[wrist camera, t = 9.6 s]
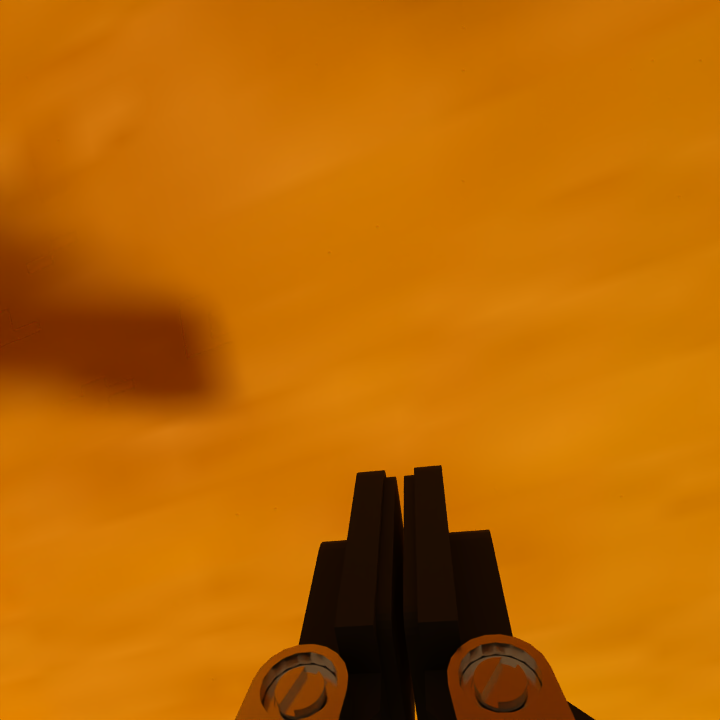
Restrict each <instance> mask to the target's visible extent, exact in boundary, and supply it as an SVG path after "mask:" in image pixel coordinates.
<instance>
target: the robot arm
mask: <svg viewBox="0 0 720 720" xmlns="http://www.w3.org/2000/svg"><path fill="white" fill-rule="evenodd" d="M415 705H416V712H417V719H418V720H595V719H593V718H592V717H590V716H589V715H587V714H586V713H584V712H583V711H581V710H580V709H578V708H577V707H575V706H574V705H572V704H571V703H569V702H567V701H566V698H565V696H564V694H563V692H562V690H561V688H560V685H559V683H558V681H557V679H556V677H555V675H554V673H553V670H552V668H551V666H550V665H549V663H548V662H547V660H546V659H545V657H544V656H543V654H542V653H541V652H539V651H538V650H537V649H536V648H534V647H533V646H532V645H531V644H529V643H527V642H525V641H523V640H520V639H518V638H516V637H513V636H512V631H511V626H510V622H509V617H508V612H507V608H506V603H505V598H504V594H503V589H502V584H501V580H500V575H499V571H498V566H497V561H496V557H495V552H494V547H493V543H492V538H491V534H490V531H489V530H479V531H465V532H451V533H449V530H448V521H447V512H446V503H445V494H444V485H443V476H442V467H441V465H439V466H428V467H417V468H414V475H409V476H404V528H403V521H402V514H401V507H400V500H399V493H398V486H397V480H396V477H386V473H385V471H384V470H382V471H371V472H359V473H357V476H356V483H355V489H354V496H353V503H352V510H351V516H350V523H349V530H348V537H347V540H342V541H329V542H322V543H321V545H320V548H319V552H318V557H317V561H316V566H315V571H314V575H313V580H312V585H311V590H310V594H309V599H308V604H307V608H306V613H305V618H304V622H303V627H302V632H301V637H300V641H299V645H297V646H294V647H291V648H288V649H285V650H283V651H281V652H279V653H278V654H276V655H274V656H273V657H271V658H270V659H269V660H268V661H267V662H266V663H265V664H264V665H263V666H262V667H261V668H260V669H259V671H258V672H257V674H256V676H255V677H254V679H253V681H252V683H251V685H250V687H249V689H248V692H247V694H246V696H245V698H244V701H243V703H242V705H241V707H240V709H239V712H238V714H237V716H236V718H235V720H415Z"/></svg>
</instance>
